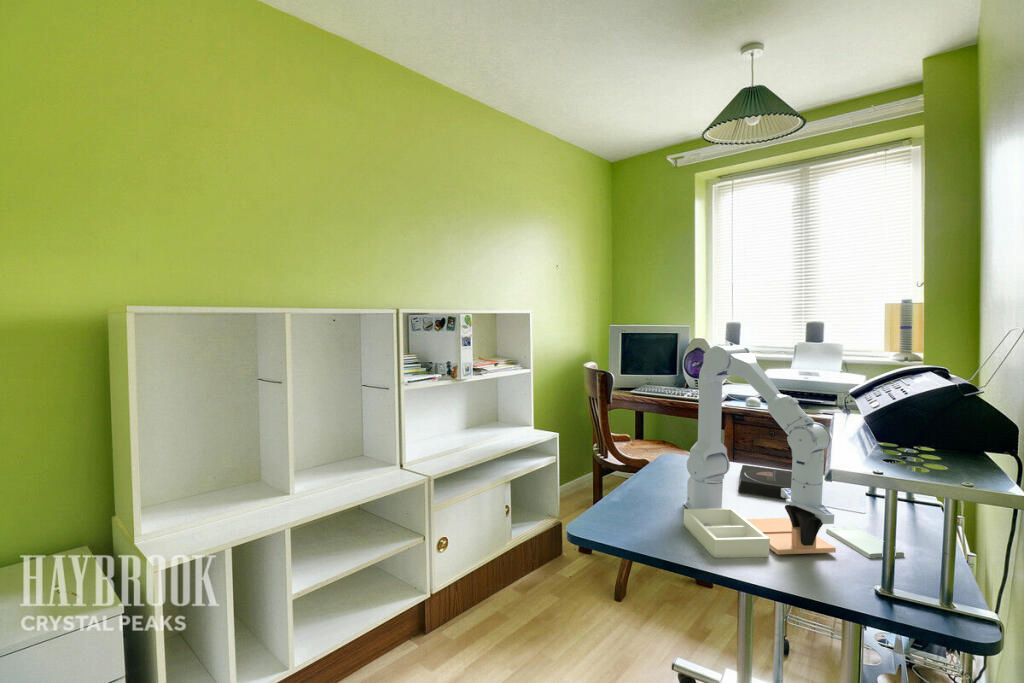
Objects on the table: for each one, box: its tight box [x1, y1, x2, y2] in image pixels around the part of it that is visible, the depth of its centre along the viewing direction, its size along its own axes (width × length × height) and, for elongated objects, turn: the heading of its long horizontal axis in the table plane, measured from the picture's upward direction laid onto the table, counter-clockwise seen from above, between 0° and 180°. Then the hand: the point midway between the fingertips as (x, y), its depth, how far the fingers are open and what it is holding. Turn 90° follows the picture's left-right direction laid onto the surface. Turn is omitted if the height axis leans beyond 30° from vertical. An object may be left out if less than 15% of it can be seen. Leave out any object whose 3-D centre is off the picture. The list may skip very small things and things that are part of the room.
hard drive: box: [825, 526, 905, 559], centre depth 111 cm, size 2×8×12 cm
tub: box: [683, 507, 770, 559], centre depth 113 cm, size 16×12×4 cm
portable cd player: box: [738, 464, 792, 501], centre depth 145 cm, size 16×17×4 cm
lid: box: [745, 517, 836, 555], centre depth 113 cm, size 17×13×5 cm
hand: (803, 542), depth 106 cm, fingers closed on lid, 2 cm apart
